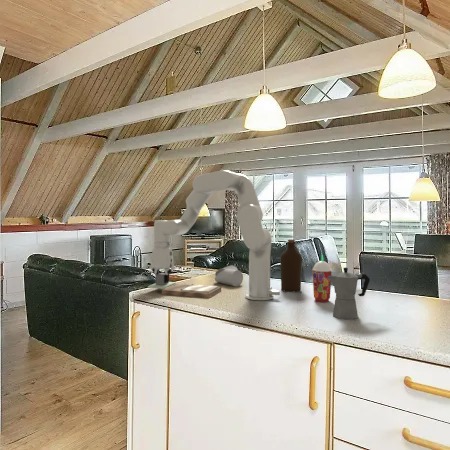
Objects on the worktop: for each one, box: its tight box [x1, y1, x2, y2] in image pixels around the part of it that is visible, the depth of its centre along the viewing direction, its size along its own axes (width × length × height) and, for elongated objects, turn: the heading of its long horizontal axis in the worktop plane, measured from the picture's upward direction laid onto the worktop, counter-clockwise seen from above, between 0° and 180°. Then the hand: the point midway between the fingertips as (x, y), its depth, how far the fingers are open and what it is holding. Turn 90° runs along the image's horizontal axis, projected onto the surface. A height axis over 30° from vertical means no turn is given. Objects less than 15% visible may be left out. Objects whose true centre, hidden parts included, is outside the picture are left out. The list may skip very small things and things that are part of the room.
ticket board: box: [161, 283, 222, 299], centre depth 178 cm, size 24×16×3 cm, turn 71°
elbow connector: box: [214, 265, 244, 287], centre depth 205 cm, size 18×10×20 cm
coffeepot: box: [327, 267, 371, 320], centre depth 137 cm, size 15×9×18 cm, turn 89°
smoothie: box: [311, 254, 333, 303], centre depth 162 cm, size 8×8×20 cm
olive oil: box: [279, 239, 303, 293], centre depth 184 cm, size 11×11×25 cm
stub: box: [147, 272, 177, 290], centre depth 183 cm, size 8×13×6 cm, turn 161°
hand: (162, 282), depth 183 cm, fingers closed on stub, 4 cm apart
